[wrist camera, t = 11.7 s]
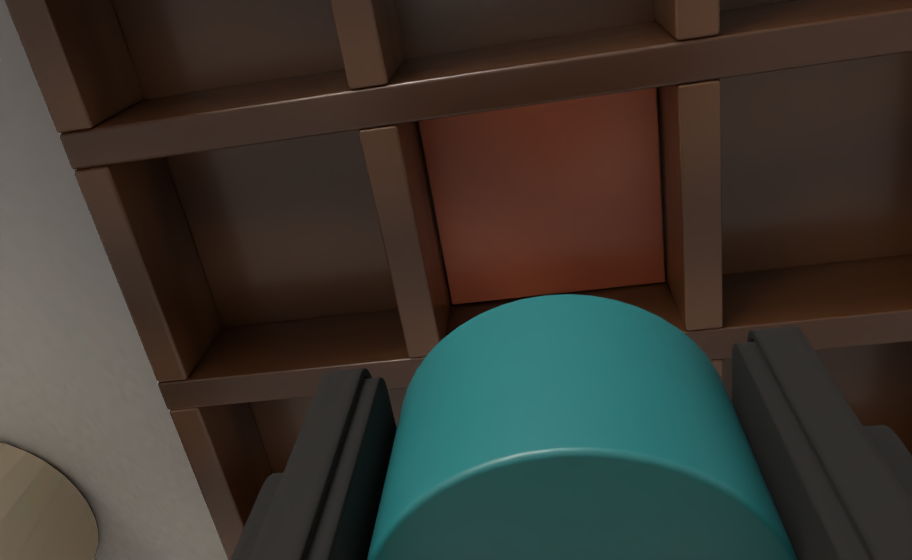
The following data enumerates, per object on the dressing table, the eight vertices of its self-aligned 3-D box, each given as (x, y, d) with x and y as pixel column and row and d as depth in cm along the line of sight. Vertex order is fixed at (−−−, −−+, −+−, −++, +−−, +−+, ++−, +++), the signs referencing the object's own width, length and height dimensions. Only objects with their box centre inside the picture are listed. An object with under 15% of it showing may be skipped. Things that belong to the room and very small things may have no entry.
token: (370, 311, 10) (313, 471, 7) (731, 272, 9) (820, 431, 6) (430, 565, 12) (404, 767, 9) (732, 547, 11) (800, 757, 8)
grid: (20, -201, 16) (-85, -220, 13) (1050, -423, 13) (1192, -506, 10) (271, 510, 24) (239, 589, 22) (926, 463, 22) (985, 547, 19)
